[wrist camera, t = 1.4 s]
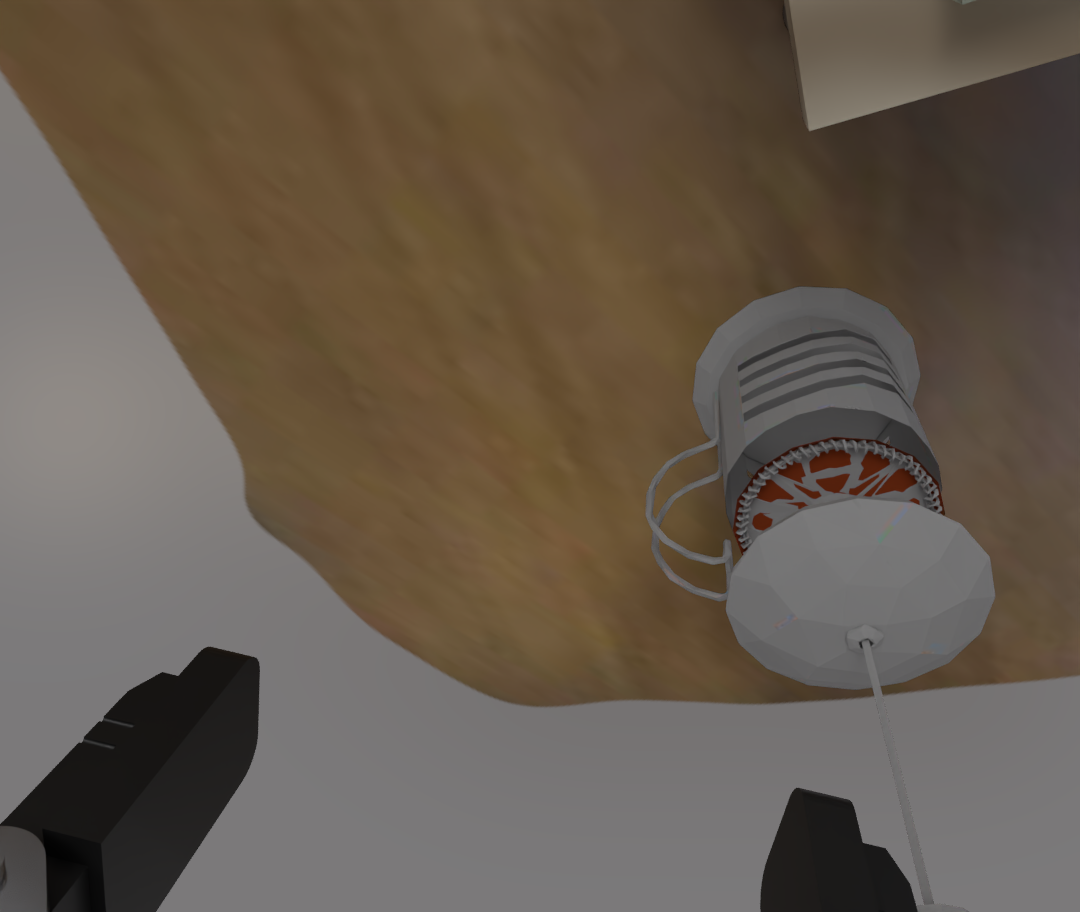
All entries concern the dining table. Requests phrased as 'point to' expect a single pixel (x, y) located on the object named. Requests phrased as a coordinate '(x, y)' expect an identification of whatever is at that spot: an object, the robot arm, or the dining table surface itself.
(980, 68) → the miniature tray table
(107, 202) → the dining table surface
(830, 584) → the french press
